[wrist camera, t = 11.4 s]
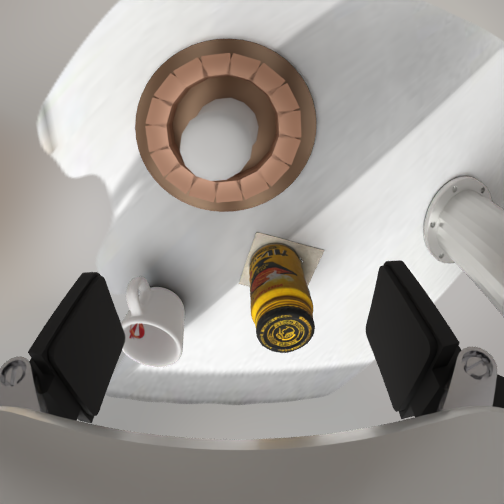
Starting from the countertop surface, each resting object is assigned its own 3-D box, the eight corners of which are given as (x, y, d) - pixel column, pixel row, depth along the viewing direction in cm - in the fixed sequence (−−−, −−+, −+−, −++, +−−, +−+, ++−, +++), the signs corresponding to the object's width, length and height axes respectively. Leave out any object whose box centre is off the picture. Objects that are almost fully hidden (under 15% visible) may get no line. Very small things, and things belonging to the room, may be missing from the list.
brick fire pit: (309, 37, 24) (317, 30, 21) (315, 202, 32) (322, 214, 29) (130, 57, 24) (117, 53, 21) (153, 215, 33) (144, 228, 30)
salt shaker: (255, 95, 26) (264, 94, 14) (259, 152, 29) (270, 193, 17) (194, 101, 26) (157, 106, 15) (200, 157, 29) (171, 201, 17)
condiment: (256, 231, 34) (262, 297, 24) (324, 249, 35) (353, 316, 25) (238, 282, 37) (237, 356, 27) (301, 297, 39) (319, 368, 28)
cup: (116, 265, 36) (93, 304, 29) (173, 254, 35) (158, 295, 28) (146, 327, 41) (133, 369, 34) (198, 321, 40) (191, 366, 33)
